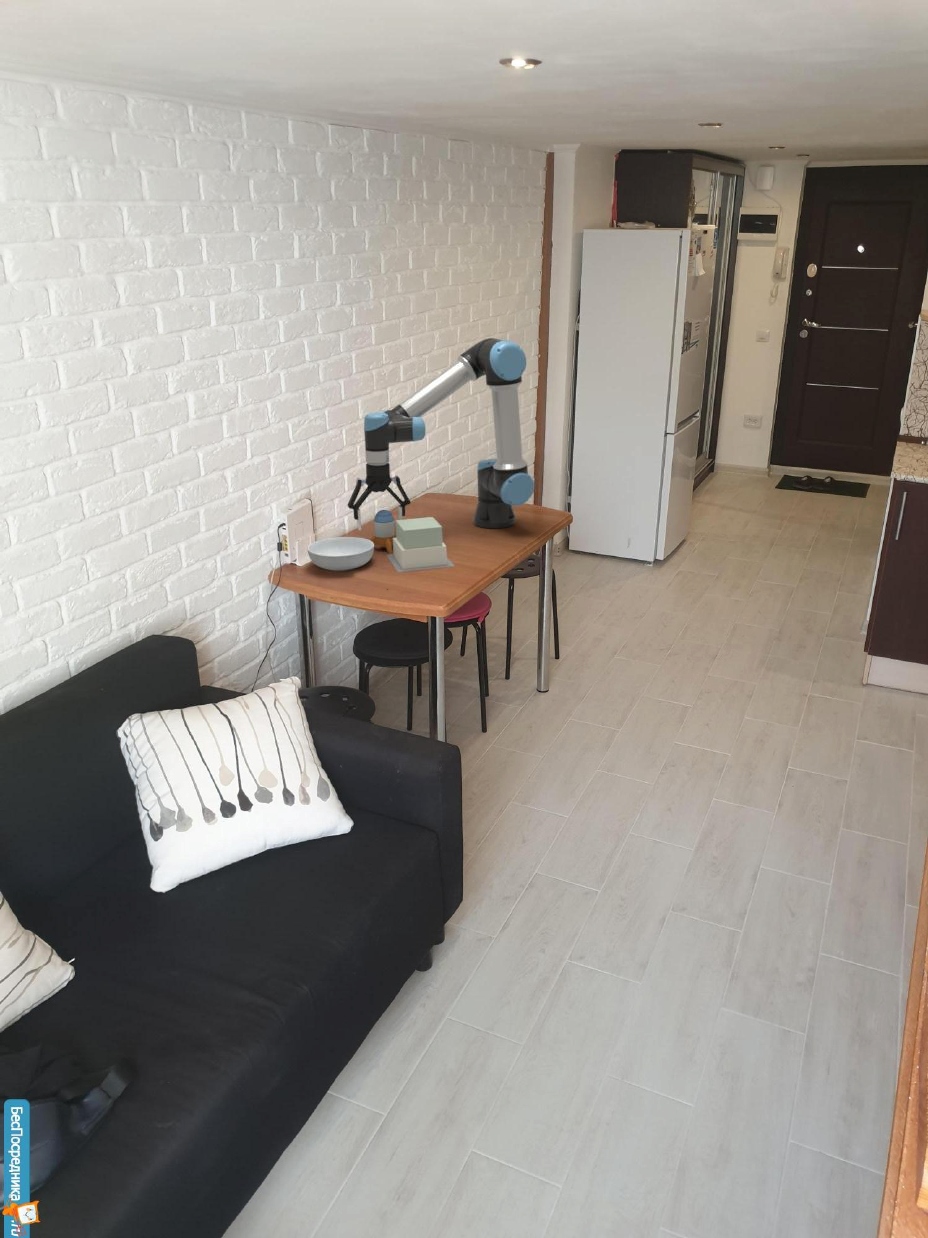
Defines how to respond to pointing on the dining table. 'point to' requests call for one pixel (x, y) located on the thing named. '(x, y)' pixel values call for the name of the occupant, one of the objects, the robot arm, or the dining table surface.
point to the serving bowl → (341, 553)
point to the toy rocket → (384, 530)
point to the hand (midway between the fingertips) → (380, 527)
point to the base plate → (399, 568)
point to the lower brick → (419, 556)
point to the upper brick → (419, 533)
